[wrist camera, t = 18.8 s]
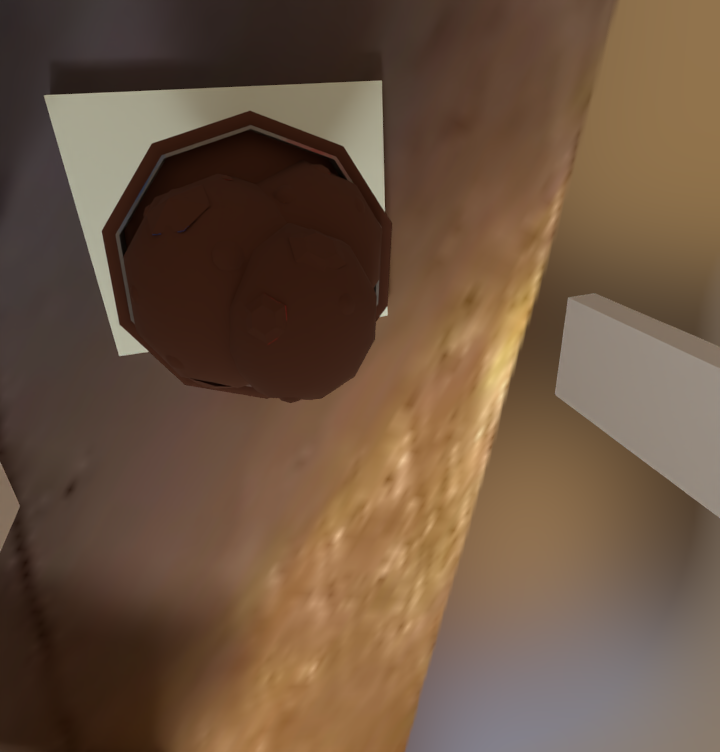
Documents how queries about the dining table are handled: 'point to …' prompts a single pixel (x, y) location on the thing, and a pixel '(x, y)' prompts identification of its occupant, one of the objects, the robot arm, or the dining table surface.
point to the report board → (185, 113)
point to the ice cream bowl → (250, 259)
